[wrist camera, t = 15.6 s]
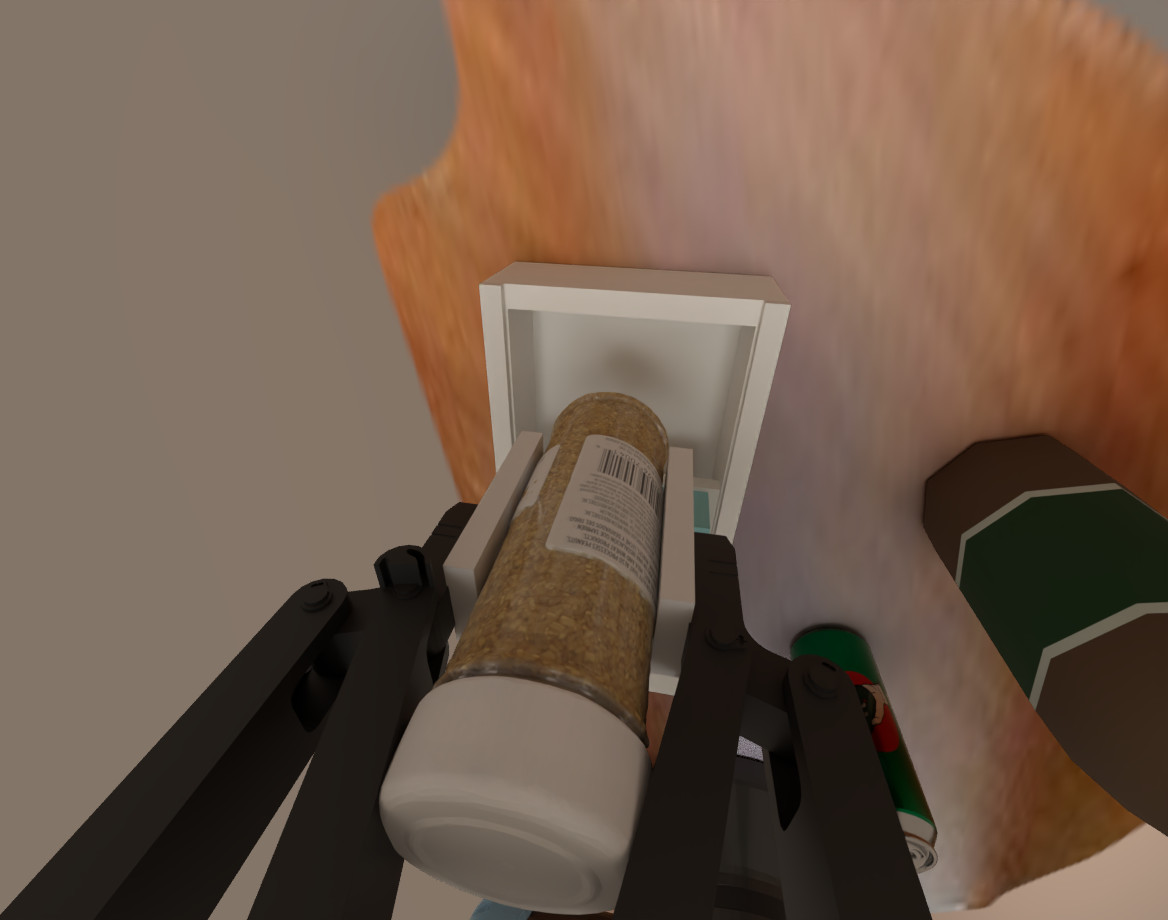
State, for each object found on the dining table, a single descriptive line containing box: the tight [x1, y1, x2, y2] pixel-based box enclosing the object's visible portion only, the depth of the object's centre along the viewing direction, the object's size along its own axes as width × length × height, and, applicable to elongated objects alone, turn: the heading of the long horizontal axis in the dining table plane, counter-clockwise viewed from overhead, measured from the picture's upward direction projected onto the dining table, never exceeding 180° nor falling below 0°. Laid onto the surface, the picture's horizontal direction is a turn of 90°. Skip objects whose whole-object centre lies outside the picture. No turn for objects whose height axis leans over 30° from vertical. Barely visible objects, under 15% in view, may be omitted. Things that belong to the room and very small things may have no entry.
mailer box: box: [479, 261, 791, 544], centre depth 25 cm, size 16×12×5 cm
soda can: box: [790, 628, 938, 874], centre depth 29 cm, size 5×5×12 cm
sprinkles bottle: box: [379, 392, 669, 915], centre depth 13 cm, size 5×5×13 cm
